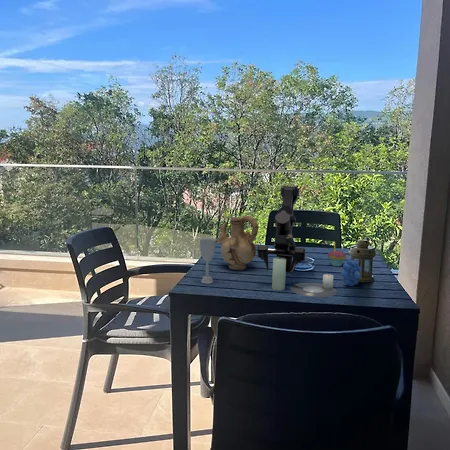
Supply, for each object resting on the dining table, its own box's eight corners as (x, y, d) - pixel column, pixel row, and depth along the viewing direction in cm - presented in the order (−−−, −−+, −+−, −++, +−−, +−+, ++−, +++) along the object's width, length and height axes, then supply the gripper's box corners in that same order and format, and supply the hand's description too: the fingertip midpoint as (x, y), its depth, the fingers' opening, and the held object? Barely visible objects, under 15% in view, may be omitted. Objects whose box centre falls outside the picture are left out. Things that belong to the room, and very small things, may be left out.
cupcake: (326, 266, 218) (327, 241, 216) (328, 262, 226) (330, 238, 224) (344, 268, 215) (346, 243, 213) (346, 264, 223) (348, 240, 221)
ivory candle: (325, 285, 183) (326, 271, 182) (334, 287, 181) (335, 273, 180) (320, 287, 180) (321, 273, 179) (329, 289, 178) (330, 275, 177)
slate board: (304, 282, 190) (304, 279, 190) (344, 292, 179) (345, 288, 179) (281, 293, 176) (281, 289, 176) (323, 303, 165) (323, 300, 165)
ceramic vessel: (251, 262, 223) (253, 211, 219) (263, 272, 205) (265, 217, 200) (215, 263, 219) (215, 212, 215) (223, 274, 200) (224, 218, 196)
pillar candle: (276, 288, 182) (277, 254, 180) (287, 291, 179) (288, 256, 176) (269, 291, 178) (270, 257, 176) (280, 294, 175) (281, 259, 173)
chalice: (218, 280, 191) (218, 238, 188) (212, 284, 185) (213, 241, 182) (201, 278, 194) (202, 236, 191) (195, 282, 187) (196, 239, 184)
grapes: (350, 292, 178) (352, 263, 176) (336, 288, 184) (338, 259, 182) (368, 287, 186) (370, 259, 183) (354, 283, 191) (356, 255, 189)
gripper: (258, 225, 182) (253, 258, 173) (306, 227, 178) (303, 262, 169) (260, 240, 191) (255, 273, 182) (306, 243, 187) (303, 277, 178)
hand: (279, 271), depth 177 cm, fingers open, 9 cm apart
